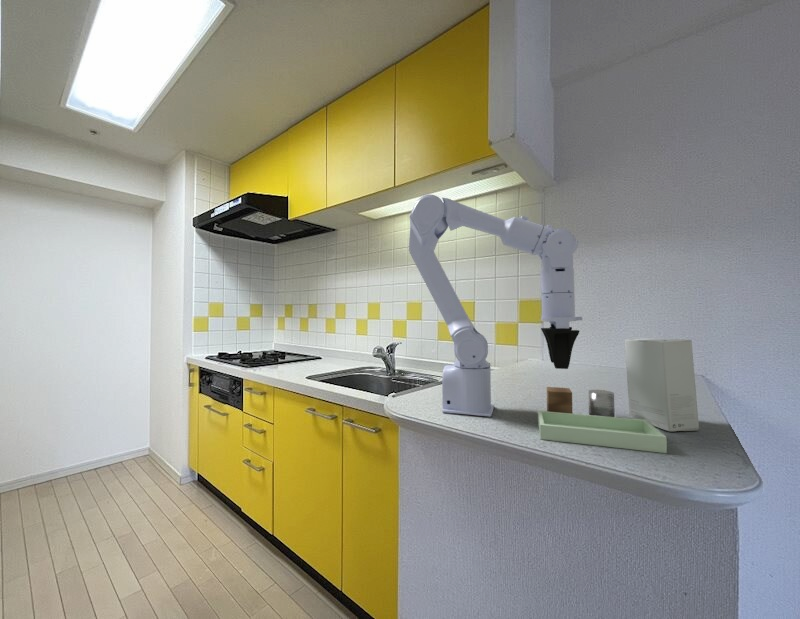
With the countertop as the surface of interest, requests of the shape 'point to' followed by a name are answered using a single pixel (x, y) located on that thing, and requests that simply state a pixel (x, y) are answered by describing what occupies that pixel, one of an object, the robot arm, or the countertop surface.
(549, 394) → the walnut block
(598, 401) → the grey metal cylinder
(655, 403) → the skincare box
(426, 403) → the countertop surface
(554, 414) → the parts tray
